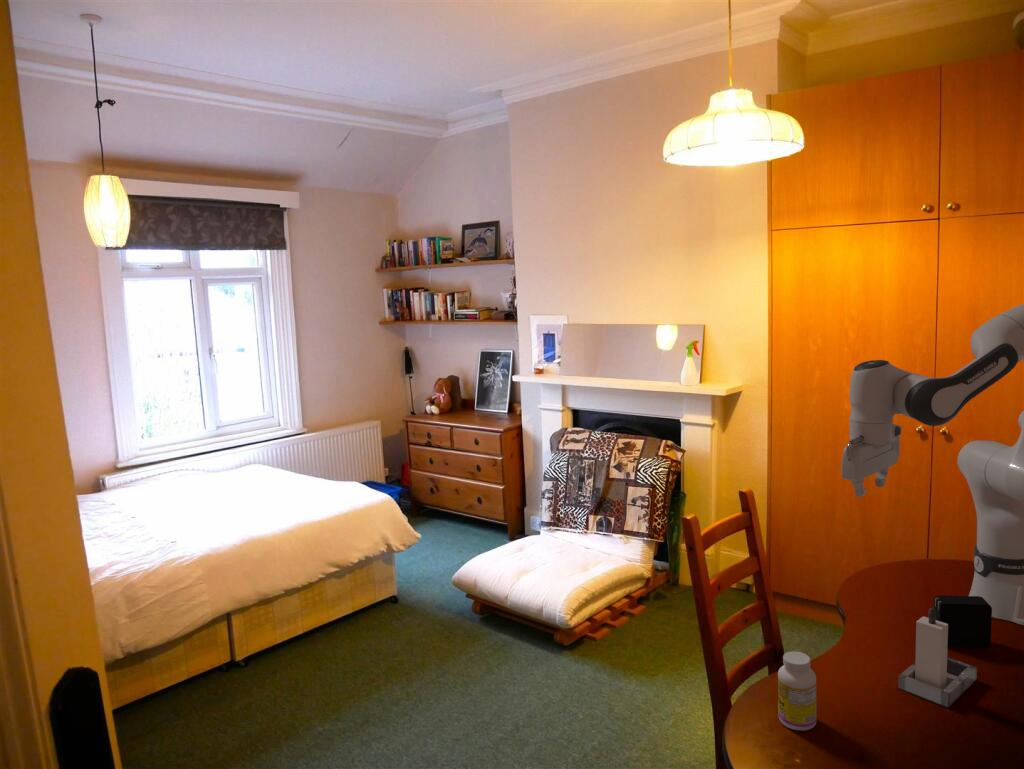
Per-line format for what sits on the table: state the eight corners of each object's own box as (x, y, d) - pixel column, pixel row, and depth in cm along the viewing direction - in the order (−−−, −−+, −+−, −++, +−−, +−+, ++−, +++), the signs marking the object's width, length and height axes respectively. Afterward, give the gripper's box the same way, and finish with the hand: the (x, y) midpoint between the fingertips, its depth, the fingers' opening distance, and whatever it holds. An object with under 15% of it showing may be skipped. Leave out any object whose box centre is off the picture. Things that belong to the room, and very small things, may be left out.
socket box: (898, 688, 145) (898, 675, 144) (928, 663, 153) (928, 650, 152) (947, 708, 138) (948, 694, 137) (976, 680, 146) (976, 667, 145)
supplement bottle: (778, 708, 141) (778, 646, 139) (816, 713, 139) (815, 650, 137) (777, 729, 135) (777, 664, 133) (816, 735, 132) (816, 669, 130)
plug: (914, 688, 144) (916, 606, 141) (921, 682, 146) (923, 601, 143) (939, 697, 140) (941, 614, 138) (946, 691, 142) (948, 609, 140)
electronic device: (990, 648, 157) (992, 605, 155) (939, 647, 159) (940, 603, 157) (982, 639, 161) (983, 596, 159) (932, 637, 163) (933, 595, 161)
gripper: (861, 443, 157) (861, 505, 159) (905, 425, 170) (904, 483, 172) (833, 439, 162) (833, 499, 164) (878, 422, 175) (877, 478, 177)
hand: (870, 491), depth 168 cm, fingers open, 8 cm apart
